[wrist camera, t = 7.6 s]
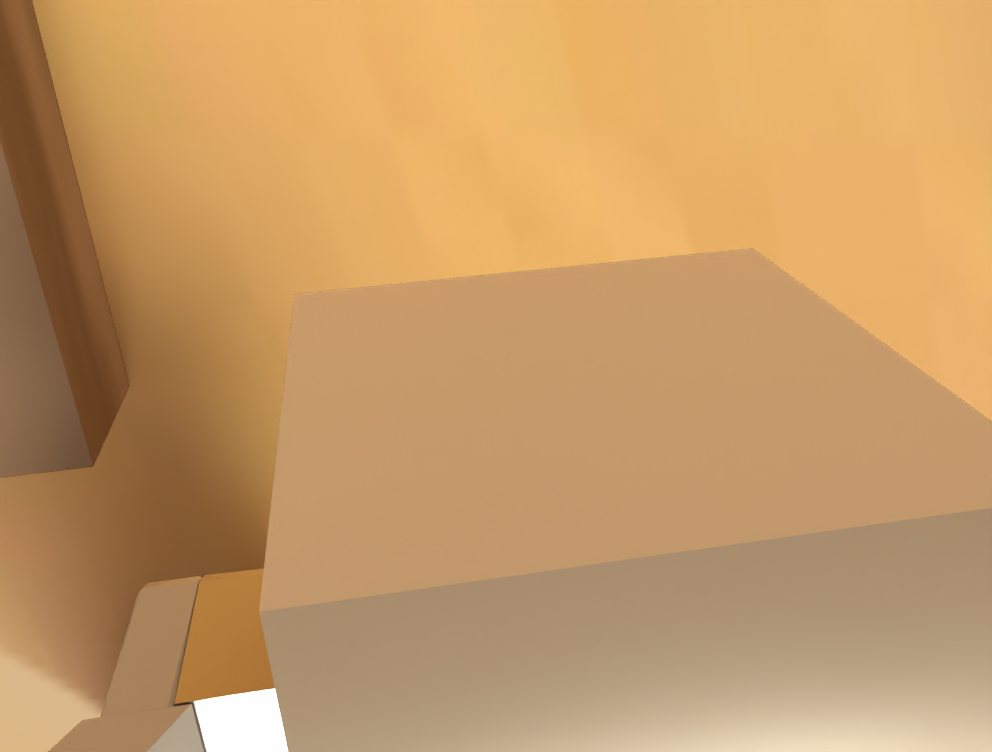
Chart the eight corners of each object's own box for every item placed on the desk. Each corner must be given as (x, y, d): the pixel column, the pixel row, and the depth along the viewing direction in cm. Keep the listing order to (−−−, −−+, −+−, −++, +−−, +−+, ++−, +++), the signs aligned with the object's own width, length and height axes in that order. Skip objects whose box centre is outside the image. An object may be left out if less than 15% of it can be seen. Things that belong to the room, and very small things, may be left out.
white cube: (753, 248, 10) (1090, 493, 6) (723, 603, 12) (948, 985, 8) (294, 293, 9) (259, 612, 5) (350, 660, 12) (362, 1111, 7)
